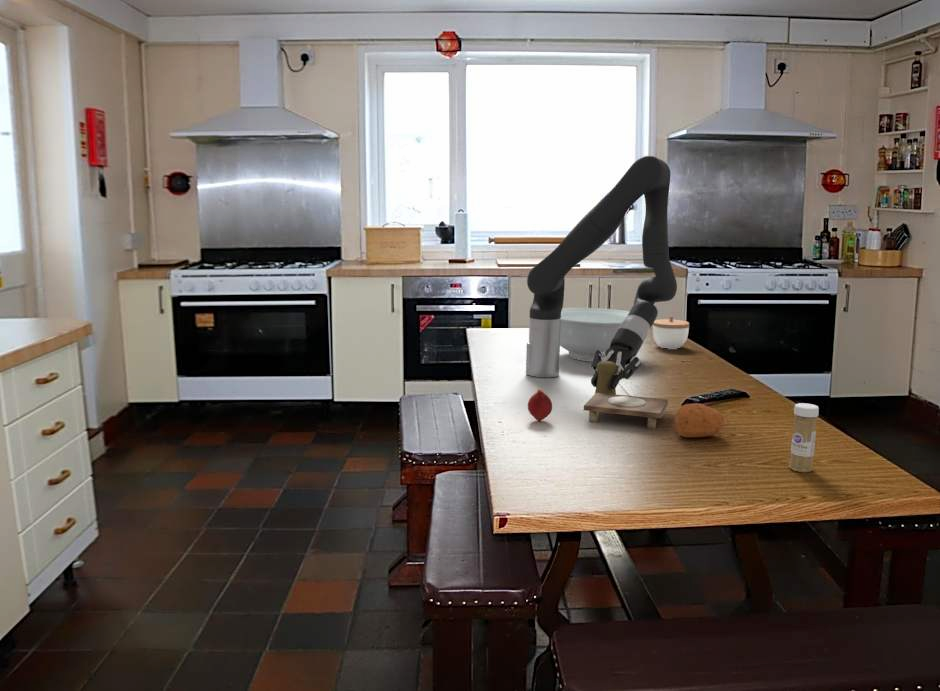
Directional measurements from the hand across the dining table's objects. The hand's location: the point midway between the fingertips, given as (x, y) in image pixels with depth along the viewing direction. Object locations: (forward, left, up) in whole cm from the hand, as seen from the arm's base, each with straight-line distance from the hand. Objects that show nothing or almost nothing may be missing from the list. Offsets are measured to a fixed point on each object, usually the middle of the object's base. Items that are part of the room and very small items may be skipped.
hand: (601, 386), depth 225 cm
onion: (-10, -22, -5) cm, 25 cm away
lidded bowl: (+6, +89, -5) cm, 89 cm away
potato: (+27, -20, -5) cm, 34 cm away
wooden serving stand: (+9, -12, -5) cm, 16 cm away
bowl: (-15, +60, -5) cm, 62 cm away
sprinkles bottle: (+49, -36, -5) cm, 61 cm away
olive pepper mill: (+1, +2, -5) cm, 5 cm away
